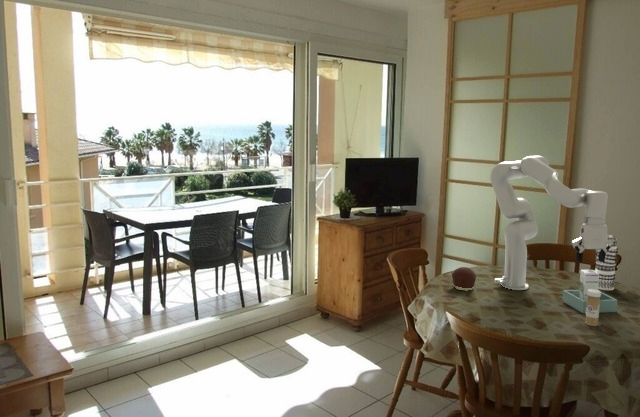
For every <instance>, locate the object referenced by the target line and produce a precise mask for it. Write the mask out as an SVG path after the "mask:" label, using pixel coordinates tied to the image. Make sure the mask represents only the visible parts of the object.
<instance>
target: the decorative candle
mask: <svg viewBox="0 0 640 417" xmlns="http://www.w3.org/2000/svg"><path fill="white" fill-rule="evenodd" d="M608 240H610V241H612V242H613V244H612V245H611V247H610V249H609V250H608V252H607V253H606V256H605V262H602V261H599V260H598V258H599V251H601V250H600V249H594V250H595V257H594V258H595V261H594V262H595V263H596V267H595V271H596V272H597V273H599V287H598V290H602V291H613V290H615V286H616V284H615V283H616V281H615V280H616V270H615V268H616V265H617V262H616V261H618V259H617V258H618V255H617V254H618V253H619V252H618V250H619V248H618V246H617V243H618V239H617V238H616V237H615V235H611V234H608Z"/></svg>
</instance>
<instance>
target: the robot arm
mask: <svg viewBox="0 0 640 417" xmlns="http://www.w3.org/2000/svg"><path fill="white" fill-rule="evenodd" d="M528 177H529V178H530V179H532V180H533V181H535V182H536V183H538V184H539V185H541V186H542V187H543V188H544V189H545V191H546V192H547V194H548V195H549V197H551V198H552V199H553V200H555V201H556V202H558V203H559V204H561V205H562V206H564V207H565V208H578V207H579V208H580V207H585V210H584V218H581V222H583V223H582V225H581V227H580V230H579V231H580V232H579V237H578V238H576V239H574V240H572V241H571V245H572V247H573V249H574V251H575V252H576V257H575V258H576V259H575V260H576V261H577V262H578V263H582V262H583V259H584V253H583V252H584V251H585V249H586V250H596V249H600V250H601V251H599V258H598V260H599V261H602V262H605V256H606V253H607V252H608V250H609V249H610V247H611V245H612V244H613V242H612V241H610V240H608V235H609V234H608V226H607V224H606V215H607V206H608V198H609V197H608V196H609V195H608V192H605V191H602V190H601V191H600V190H591V189H588V188H583V187H582V188H579V187H578V188H572V189H571V188H569V187H568V186H566V185H565V184H563V183H562V182H561V181H560V180H559V172H558V171H557V170H555V169H554V168H552V167H551V166H550V162H549V160H548V158H546V157H544V156H542V155H529V156H526V157H524V158H522V159H521V160H515V161H514V160H513V161H510V160H509V161H502V162H499V163H497V164H496V165H495V166H494V167H493V168H492V170H491V173H490V179H489V180H490V182H491V186H492V189H493V191H494V195H495V197H496V200H497V201H496V202H497V205H498V207H499V211H500V213H501V215H502V217H503V218H505V219H506V220H516V221H512V222H509V223H507V225H505V227H504V230H503V236H504V242H505V244H504V246H505V250H504V252H505V256H504V274H503V275H502V276H501V277H500V278H494V279H493V282H494V283H497V284H498V283H499V285H500V284H501V285H502V286H503V287H505V288H504V289H506V288H508V289H507V290H510V289H512V290H511V291H524V290H525V291H526V290H528V289H529V286H530V285H529V284H528V283H526V282H527V280H526V279H527V278H526V277H527V276H526V275H527V260H528V259H527V258H528V256H527V255H528V249H527V244H526V241H528V240H531V239H533V238H535V237H536V236H537V235H538V232H539V225H538V224H537V220H536V217H535V214H534V210H533V207H532V205H531V204H530V202H529V201H528V200H527V199H525V198H523V197H517V195H516V192H515V189H514V188H513V185H512V184H511V183H510V182H509V180H516V179H524V178H528ZM501 285H500V286H501ZM502 286H501V287H502ZM503 287H502V288H503Z"/></svg>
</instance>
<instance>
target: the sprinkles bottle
mask: <svg viewBox="0 0 640 417" xmlns="http://www.w3.org/2000/svg"><path fill="white" fill-rule="evenodd" d="M601 292H602V291H600V289H598V290H596V289H588V290H587V307H586V313H585V321H584V323H585V324H586V325H587V326H590V327H597V326H599V317H600V313H599V306H600V296H601Z"/></svg>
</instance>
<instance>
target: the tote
mask: <svg viewBox="0 0 640 417" xmlns="http://www.w3.org/2000/svg"><path fill="white" fill-rule="evenodd" d="M562 303H563V304H564V303H565V304H566V305H568V307H569V306H570V307H571V308H572V309H575V310H576V311H578V312H580V313H581V314H586V307H587V301H584V300H582V299H580V298H579V289H565V290H562ZM617 310H618V299H616V298H615V297H612V296H610V295H609V294H606V293H604V292H602V291H601V296H600V306H599V314H600V313H617Z"/></svg>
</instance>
